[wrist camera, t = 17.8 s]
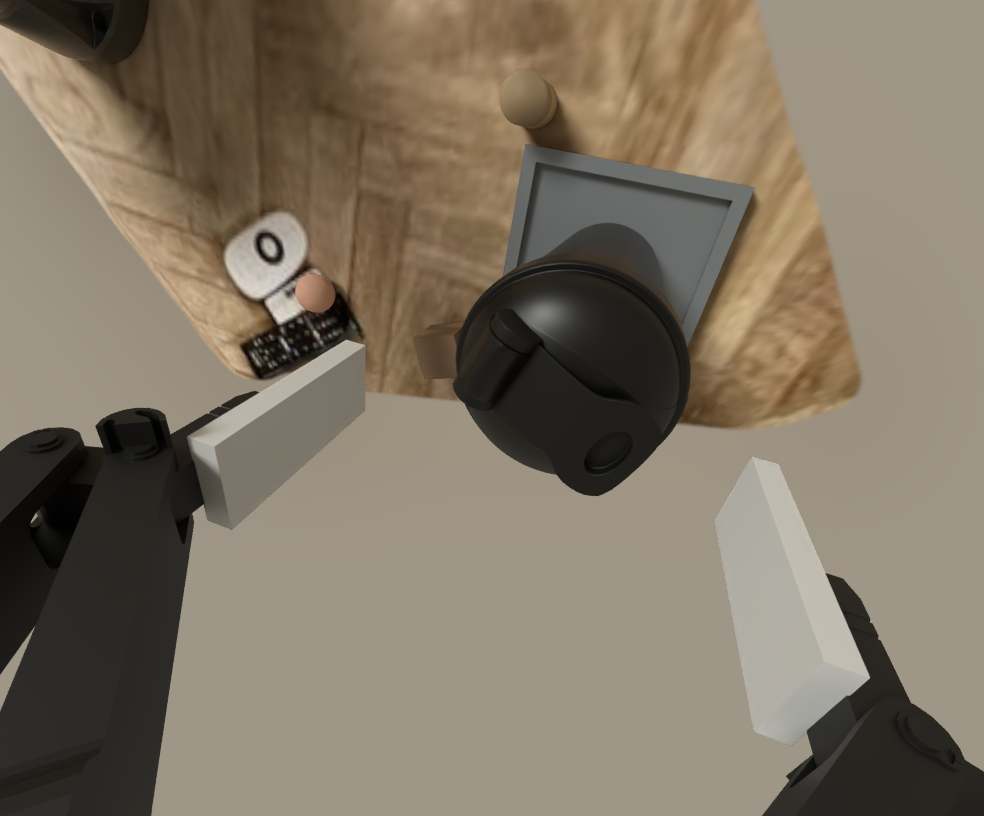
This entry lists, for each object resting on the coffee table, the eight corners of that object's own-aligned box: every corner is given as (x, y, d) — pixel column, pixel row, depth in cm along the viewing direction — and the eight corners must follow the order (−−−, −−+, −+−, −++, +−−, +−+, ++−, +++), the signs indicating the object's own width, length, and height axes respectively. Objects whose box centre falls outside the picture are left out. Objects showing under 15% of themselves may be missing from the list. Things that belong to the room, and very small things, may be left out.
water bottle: (614, 361, 39) (580, 559, 20) (518, 294, 39) (388, 427, 19) (700, 261, 33) (772, 402, 14) (589, 181, 33) (507, 214, 14)
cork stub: (512, 125, 33) (496, 121, 30) (520, 76, 32) (504, 65, 28) (551, 132, 33) (539, 129, 29) (561, 83, 31) (549, 72, 28)
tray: (495, 339, 42) (491, 344, 41) (529, 144, 34) (525, 143, 33) (667, 386, 39) (668, 393, 38) (751, 186, 31) (755, 187, 30)
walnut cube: (440, 363, 45) (423, 379, 42) (431, 324, 43) (413, 338, 40) (477, 360, 44) (463, 377, 40) (469, 321, 42) (453, 335, 39)
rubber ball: (312, 301, 46) (288, 311, 43) (310, 266, 44) (285, 274, 41) (343, 310, 45) (321, 321, 42) (342, 275, 44) (319, 283, 41)
